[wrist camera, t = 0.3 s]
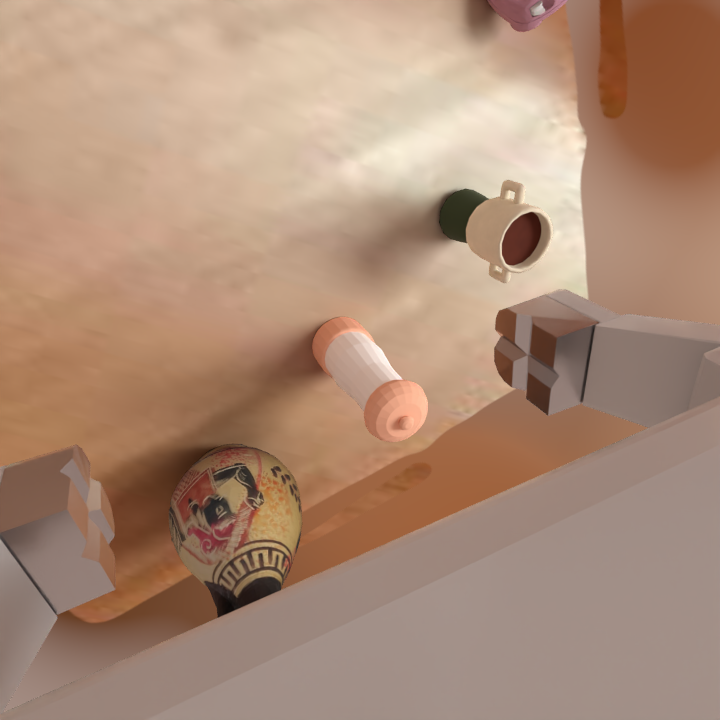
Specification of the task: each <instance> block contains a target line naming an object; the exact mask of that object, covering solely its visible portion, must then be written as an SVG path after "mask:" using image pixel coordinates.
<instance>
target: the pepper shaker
mask: <svg viewBox="0 0 720 720" xmlns="http://www.w3.org/2000/svg"><path fill="white" fill-rule="evenodd" d="M312 350H313V355H314V357H315V358H316V360H317V362H318V363H319V364H320V366H321V367H322V369H323V370H324V371H325V373H326V374H328V375H329V376H330V377H332V378H333V379H334V380H335V382H336V383H337V385H338V386H339V387H340V388H341V389H342V390H344V391H345V392H346V393H347V394H348V395H350V396H351V397H352V398H353V399H354V400H355V401H356V402H357V403H358V405H359V406H360V407H361V409H362V410H363V411H364V418H365V425H366V427H367V429H368V431H369V432H370V433H371V434H372V435H374V436H375V437H377V438H378V439H380V440H383V441H388V442H396V441H401V440H404V439H407V438H409V437H410V436H412V435H413V434H415V433H416V432H417V431H418V429H419V428H420V427H421V426H422V424H423V423H424V421H425V419H426V415H427V410H428V404H427V398H426V396H425V394H424V391H423V389H422V388H421V387H420V386H419V385H417V384H416V383H414V382H411V381H407V380H403V379H402V378H401V377H400V376H399V375H398V374H397V373H396V372H395V371H394V370H393V369H392V367H391V365H390V364H389V362H388V360H387V358H386V357H385V355H384V353H383V351H382V350H381V349H380V348H379V347H378V346H377V345H376V344H375V343H374V341H373V339H372V337H371V335H370V334H369V333H368V332H367V331H366V330H365V329H364V328H363V327H362V326H361V325H360V324H359V323H358V322H357V321H356V320H354V319H351V318H348V317H338V318H334V319H331V320H329V321H328V322H326V323H325V324H323V325H322V326H321V327H320V329H319V330H318V331H317V332H316V334H315V336H314V338H313V344H312Z"/></svg>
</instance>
